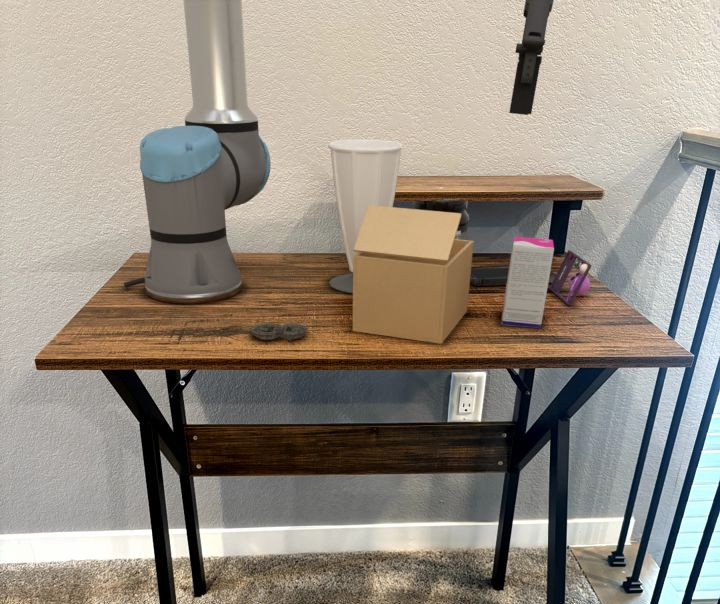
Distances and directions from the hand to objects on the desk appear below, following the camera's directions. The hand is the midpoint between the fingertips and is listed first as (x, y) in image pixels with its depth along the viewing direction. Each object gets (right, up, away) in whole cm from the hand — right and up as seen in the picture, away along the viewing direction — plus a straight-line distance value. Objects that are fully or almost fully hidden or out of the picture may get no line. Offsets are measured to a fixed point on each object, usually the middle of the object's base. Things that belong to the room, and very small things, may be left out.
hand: (519, 114), depth 101 cm
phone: (+4, -16, +26) cm, 30 cm away
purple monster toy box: (+12, -21, +17) cm, 30 cm away
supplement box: (+2, -27, +7) cm, 28 cm away
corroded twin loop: (-33, -31, 0) cm, 45 cm away
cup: (-21, -18, +22) cm, 35 cm away
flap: (-16, -18, -4) cm, 24 cm away
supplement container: (-8, -11, +33) cm, 36 cm away
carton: (-14, -27, +6) cm, 31 cm away
